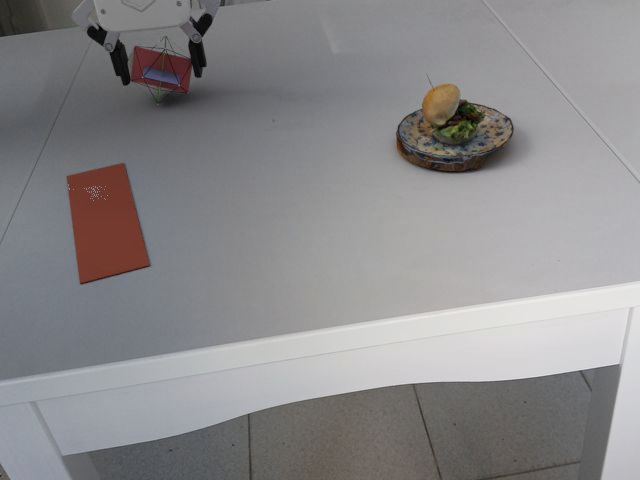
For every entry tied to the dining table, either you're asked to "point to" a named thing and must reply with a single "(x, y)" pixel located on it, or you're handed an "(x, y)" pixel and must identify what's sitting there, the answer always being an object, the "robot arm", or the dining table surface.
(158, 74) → the geometric puzzle
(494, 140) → the burger
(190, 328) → the dining table surface
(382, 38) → the dining table surface
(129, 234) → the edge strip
